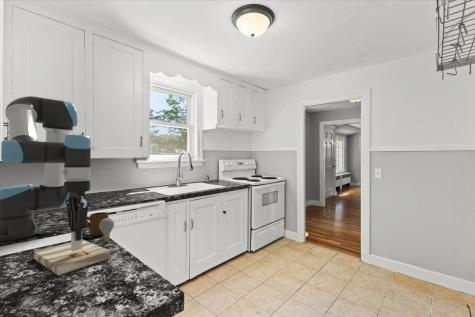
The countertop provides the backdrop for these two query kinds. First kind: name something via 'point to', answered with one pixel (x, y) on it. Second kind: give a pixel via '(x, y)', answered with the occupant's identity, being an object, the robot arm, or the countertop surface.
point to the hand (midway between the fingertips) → (76, 249)
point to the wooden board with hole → (70, 257)
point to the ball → (79, 255)
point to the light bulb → (106, 228)
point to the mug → (96, 222)
